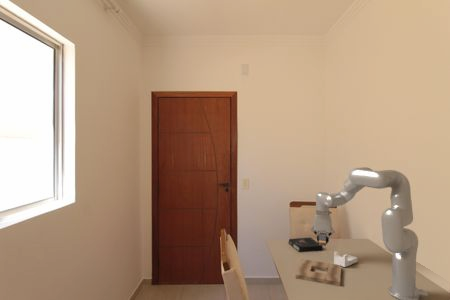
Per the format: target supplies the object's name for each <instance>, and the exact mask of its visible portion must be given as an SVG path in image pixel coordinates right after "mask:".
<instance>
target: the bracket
mask: <svg viewBox="0 0 450 300" xmlns="http://www.w3.org/2000/svg"><path fill="white" fill-rule="evenodd" d="M356 263H358V257H356V256H354V255H351V254H349V253H346V254H343V255H340V254H339V251H337V250H335V251H334V252H333V264H336V265H341V267H342V268H343V267H344V268H346V267H349V266H351V265H353V264H356Z"/></svg>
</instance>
